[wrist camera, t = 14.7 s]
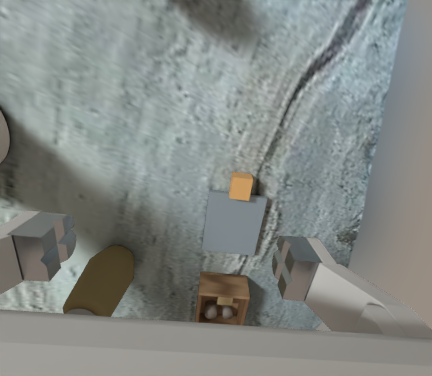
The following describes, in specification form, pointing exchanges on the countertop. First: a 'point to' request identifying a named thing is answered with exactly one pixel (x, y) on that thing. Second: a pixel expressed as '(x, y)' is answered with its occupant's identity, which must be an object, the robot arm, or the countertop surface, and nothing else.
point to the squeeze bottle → (102, 283)
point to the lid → (234, 217)
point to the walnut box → (222, 298)
